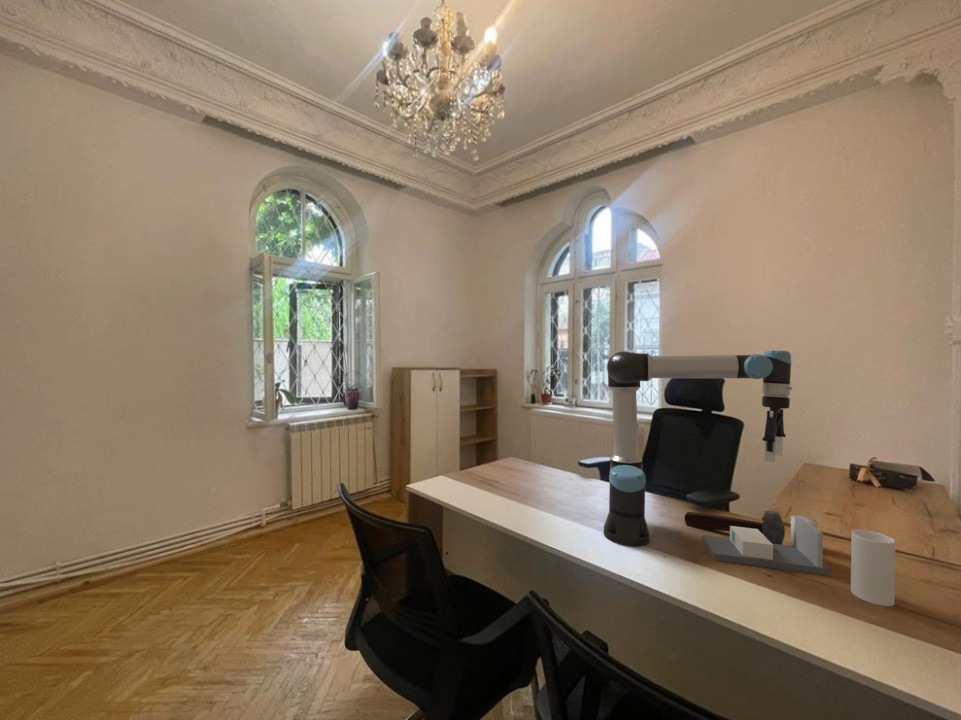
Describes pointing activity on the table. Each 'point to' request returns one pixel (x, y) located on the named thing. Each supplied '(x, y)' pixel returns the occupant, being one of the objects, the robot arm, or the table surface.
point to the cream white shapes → (809, 520)
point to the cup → (873, 567)
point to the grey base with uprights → (779, 551)
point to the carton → (751, 542)
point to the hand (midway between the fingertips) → (773, 458)
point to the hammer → (740, 524)
